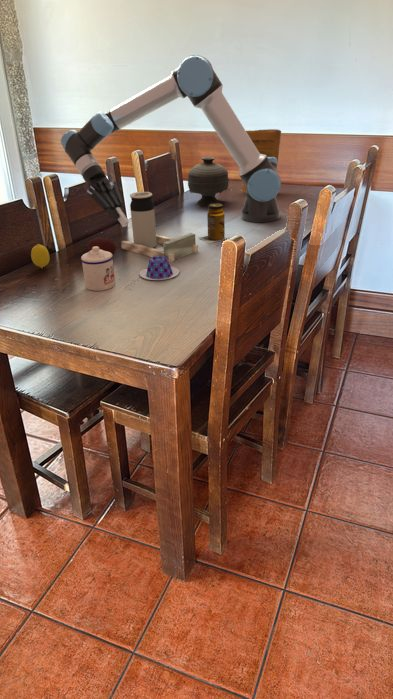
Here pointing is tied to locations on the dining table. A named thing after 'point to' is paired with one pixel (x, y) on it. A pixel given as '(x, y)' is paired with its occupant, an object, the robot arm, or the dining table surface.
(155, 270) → the pudding
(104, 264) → the teacup with lid
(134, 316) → the dining table surface
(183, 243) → the rail channel
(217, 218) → the condiment
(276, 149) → the pancake mix bag
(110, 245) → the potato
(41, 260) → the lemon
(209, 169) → the pot
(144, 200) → the travel mug
